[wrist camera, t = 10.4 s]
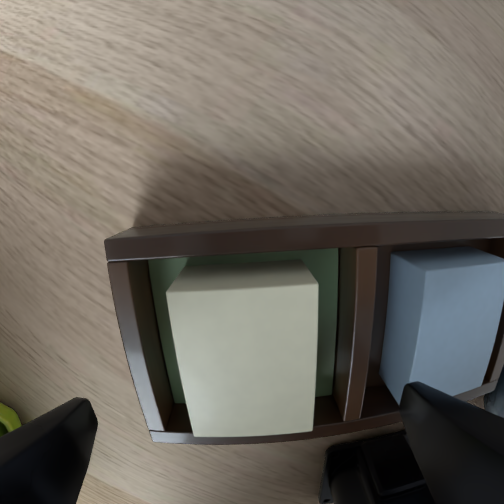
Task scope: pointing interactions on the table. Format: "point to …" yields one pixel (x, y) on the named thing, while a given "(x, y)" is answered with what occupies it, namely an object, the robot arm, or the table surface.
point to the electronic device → (496, 397)
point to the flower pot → (8, 420)
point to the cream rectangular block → (246, 346)
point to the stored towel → (441, 318)
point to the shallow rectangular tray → (329, 305)
